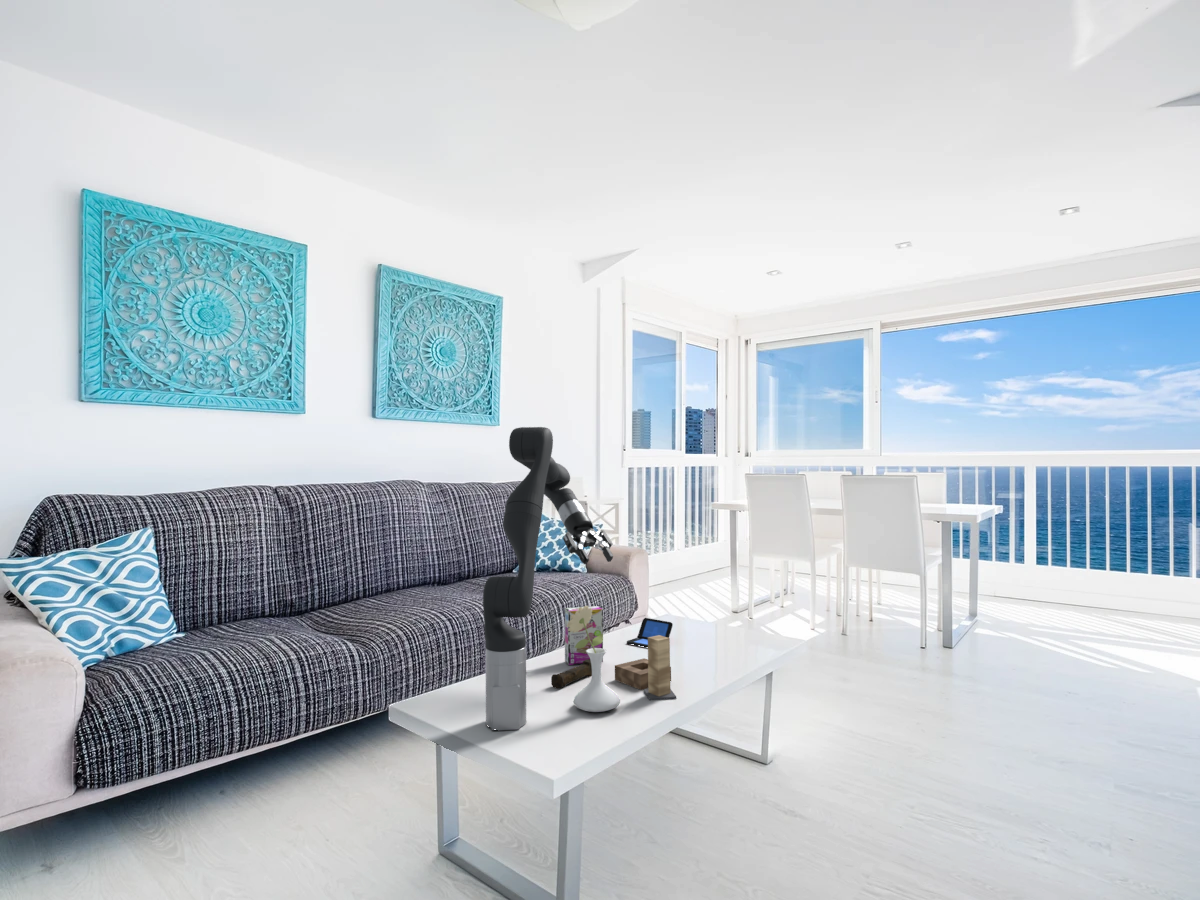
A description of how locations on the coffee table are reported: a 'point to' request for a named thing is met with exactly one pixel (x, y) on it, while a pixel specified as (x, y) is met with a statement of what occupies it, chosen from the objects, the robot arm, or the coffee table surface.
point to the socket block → (634, 673)
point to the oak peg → (659, 665)
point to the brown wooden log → (572, 674)
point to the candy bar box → (582, 635)
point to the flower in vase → (596, 691)
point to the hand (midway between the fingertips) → (599, 561)
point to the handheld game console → (651, 631)
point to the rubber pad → (654, 697)
